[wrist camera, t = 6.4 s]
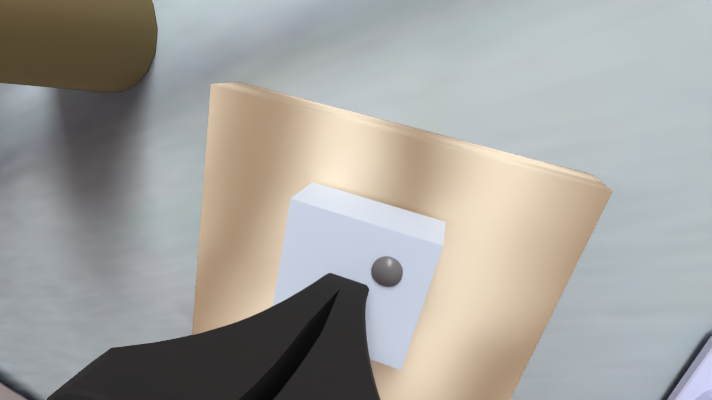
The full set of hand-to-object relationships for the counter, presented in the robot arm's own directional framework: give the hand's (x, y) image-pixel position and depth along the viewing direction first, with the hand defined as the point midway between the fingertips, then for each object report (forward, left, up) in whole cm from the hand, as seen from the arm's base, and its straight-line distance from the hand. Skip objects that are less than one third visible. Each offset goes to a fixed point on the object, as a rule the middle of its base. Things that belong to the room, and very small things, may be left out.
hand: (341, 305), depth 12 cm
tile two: (0, 0, -3) cm, 3 cm away
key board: (0, +9, -5) cm, 10 cm away
